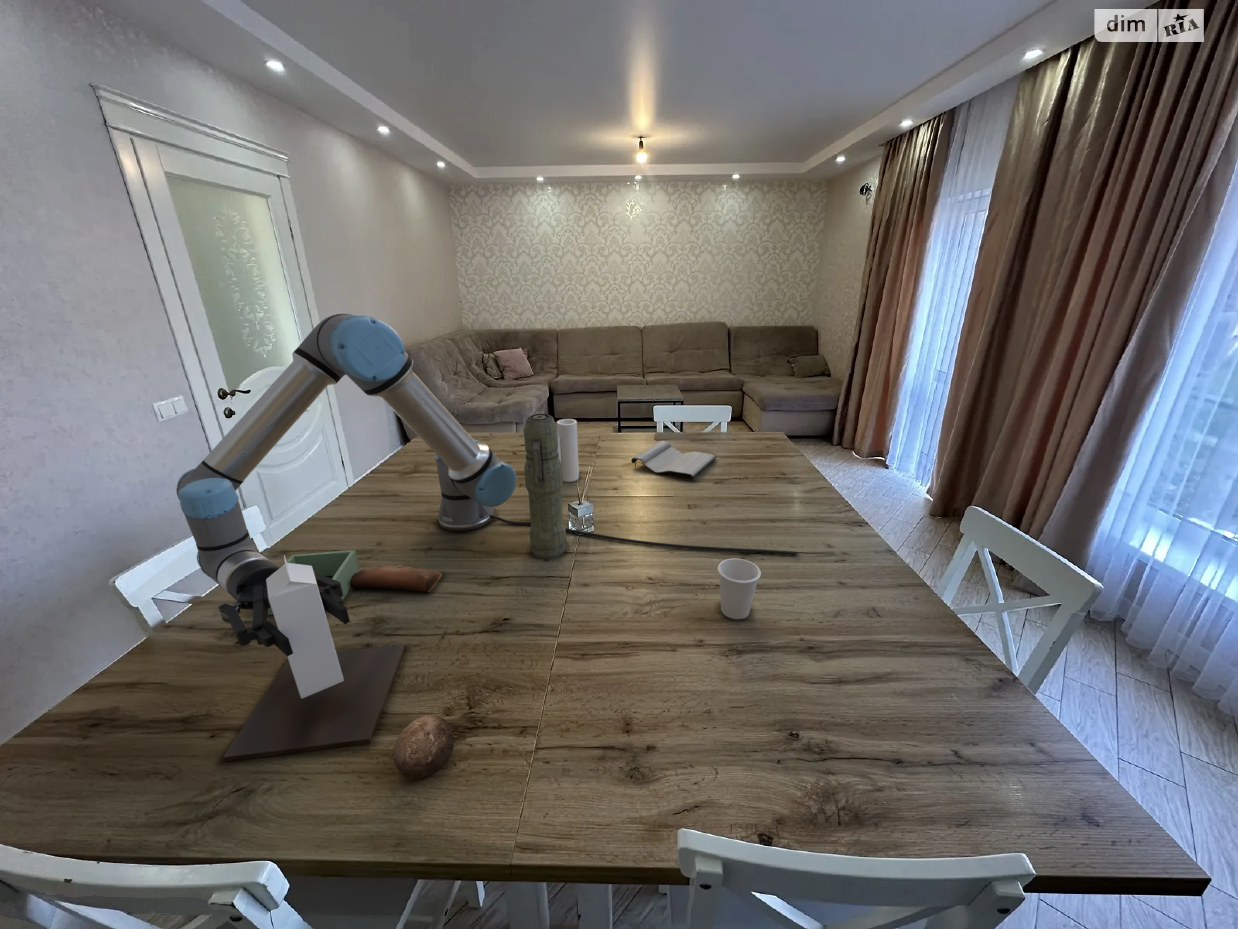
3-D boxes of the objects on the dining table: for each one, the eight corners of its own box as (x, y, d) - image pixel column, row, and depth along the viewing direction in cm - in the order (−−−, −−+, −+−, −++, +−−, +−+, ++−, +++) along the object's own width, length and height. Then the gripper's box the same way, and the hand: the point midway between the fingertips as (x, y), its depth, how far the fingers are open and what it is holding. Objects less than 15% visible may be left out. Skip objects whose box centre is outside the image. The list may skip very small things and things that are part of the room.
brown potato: (406, 713, 73) (408, 706, 69) (458, 724, 75) (463, 717, 70) (384, 775, 68) (384, 771, 63) (440, 785, 70) (444, 782, 65)
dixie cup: (732, 628, 95) (736, 586, 91) (706, 604, 102) (709, 564, 98) (764, 615, 98) (769, 574, 95) (737, 593, 105) (741, 554, 102)
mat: (693, 482, 161) (693, 469, 159) (631, 469, 172) (631, 457, 170) (716, 460, 179) (717, 448, 178) (659, 450, 190) (659, 438, 189)
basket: (360, 571, 114) (355, 549, 112) (337, 608, 101) (331, 584, 99) (298, 576, 112) (291, 554, 110) (267, 615, 100) (259, 591, 97)
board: (405, 648, 91) (404, 643, 90) (370, 743, 72) (369, 738, 72) (291, 660, 88) (289, 655, 88) (224, 762, 70) (222, 757, 69)
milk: (301, 699, 75) (260, 580, 66) (297, 675, 79) (258, 561, 71) (345, 681, 78) (311, 565, 70) (338, 658, 83) (306, 547, 74)
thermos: (567, 536, 128) (560, 409, 115) (564, 561, 117) (556, 423, 104) (534, 537, 128) (523, 409, 115) (528, 562, 117) (515, 424, 104)
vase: (579, 473, 168) (577, 418, 161) (578, 482, 162) (576, 424, 154) (546, 474, 168) (542, 419, 160) (544, 483, 161) (540, 425, 154)
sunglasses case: (444, 571, 113) (434, 558, 108) (435, 600, 109) (424, 588, 103) (372, 567, 115) (358, 554, 109) (360, 595, 110) (345, 583, 105)
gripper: (319, 570, 93) (387, 614, 81) (187, 630, 77) (245, 696, 65) (310, 536, 90) (378, 576, 78) (171, 591, 75) (229, 652, 62)
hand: (318, 631), depth 72 cm, fingers closed on milk, 7 cm apart
